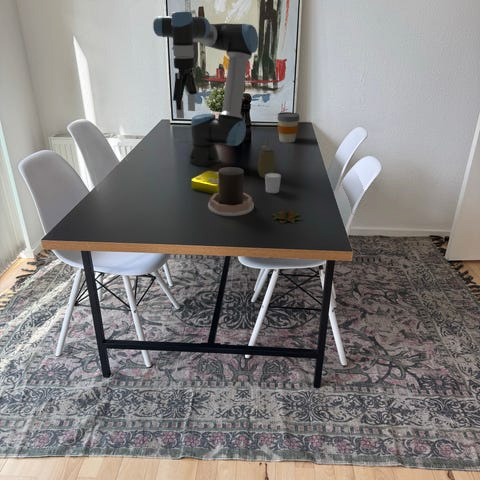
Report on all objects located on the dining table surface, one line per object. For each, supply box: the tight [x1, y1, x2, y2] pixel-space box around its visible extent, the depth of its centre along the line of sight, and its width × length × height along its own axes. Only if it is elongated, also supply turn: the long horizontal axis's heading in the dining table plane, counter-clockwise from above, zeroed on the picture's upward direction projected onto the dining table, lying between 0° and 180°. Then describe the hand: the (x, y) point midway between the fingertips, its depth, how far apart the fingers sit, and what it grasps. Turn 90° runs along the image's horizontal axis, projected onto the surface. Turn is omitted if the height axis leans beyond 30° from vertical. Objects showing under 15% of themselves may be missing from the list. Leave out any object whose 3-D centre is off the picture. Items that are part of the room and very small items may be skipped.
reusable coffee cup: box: [277, 111, 300, 144], centre depth 263 cm, size 13×13×15 cm
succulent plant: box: [270, 205, 303, 224], centre depth 171 cm, size 12×12×5 cm
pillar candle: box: [218, 166, 245, 205], centre depth 176 cm, size 10×10×15 cm
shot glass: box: [264, 172, 282, 194], centre depth 194 cm, size 7×7×7 cm
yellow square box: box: [190, 170, 219, 195], centre depth 199 cm, size 15×15×5 cm
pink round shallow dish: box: [207, 191, 255, 217], centre depth 179 cm, size 18×18×4 cm
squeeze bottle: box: [257, 137, 276, 179], centre depth 207 cm, size 8×8×18 cm
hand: (186, 114), depth 182 cm, fingers open, 13 cm apart
